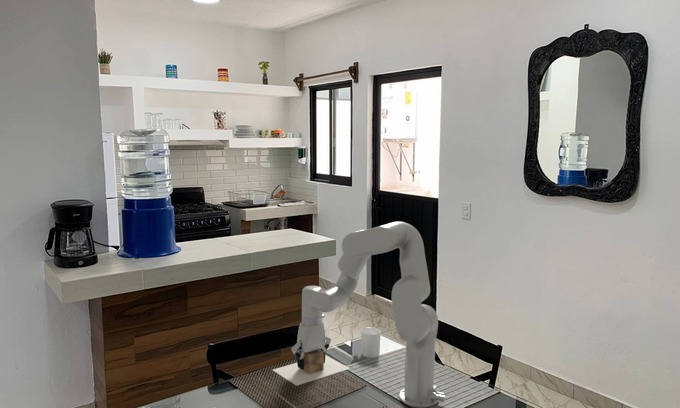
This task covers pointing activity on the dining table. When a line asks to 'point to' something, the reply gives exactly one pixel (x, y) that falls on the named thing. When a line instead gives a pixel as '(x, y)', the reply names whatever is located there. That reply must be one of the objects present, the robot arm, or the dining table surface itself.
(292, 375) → the board
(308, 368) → the walnut block
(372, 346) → the white cup
